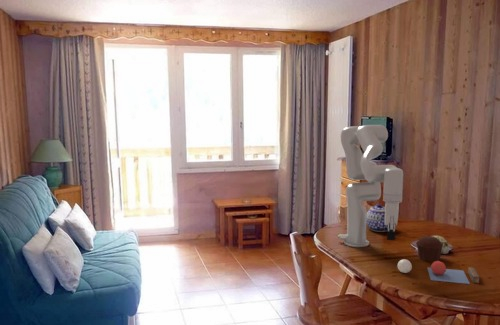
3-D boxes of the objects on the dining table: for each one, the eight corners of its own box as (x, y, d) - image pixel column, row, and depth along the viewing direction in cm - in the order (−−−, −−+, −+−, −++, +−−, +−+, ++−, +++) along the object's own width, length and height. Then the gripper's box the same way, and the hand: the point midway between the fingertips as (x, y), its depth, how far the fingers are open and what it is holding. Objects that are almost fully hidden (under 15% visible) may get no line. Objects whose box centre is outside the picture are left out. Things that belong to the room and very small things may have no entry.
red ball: (443, 261, 167) (449, 274, 167) (440, 257, 173) (447, 269, 173) (429, 266, 169) (436, 279, 169) (427, 262, 174) (433, 274, 174)
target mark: (430, 280, 165) (430, 279, 165) (427, 267, 179) (427, 267, 179) (469, 284, 161) (470, 283, 161) (463, 270, 174) (463, 270, 174)
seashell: (454, 252, 195) (444, 234, 194) (434, 261, 197) (424, 243, 196) (447, 244, 205) (438, 227, 204) (428, 252, 207) (419, 235, 206)
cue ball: (407, 262, 169) (413, 273, 170) (408, 255, 174) (414, 266, 175) (394, 265, 172) (400, 277, 173) (395, 258, 177) (401, 269, 178)
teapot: (362, 223, 251) (362, 199, 249) (388, 223, 249) (389, 199, 247) (368, 235, 226) (369, 208, 224) (398, 236, 224) (398, 209, 222)
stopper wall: (473, 282, 163) (473, 276, 162) (468, 273, 172) (468, 267, 172) (478, 283, 162) (479, 276, 162) (473, 273, 171) (473, 267, 171)
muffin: (441, 264, 182) (441, 242, 181) (414, 260, 188) (414, 238, 187) (443, 256, 193) (444, 235, 192) (417, 252, 198) (418, 232, 197)
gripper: (383, 193, 181) (381, 233, 184) (383, 201, 167) (381, 244, 170) (401, 194, 179) (399, 234, 182) (402, 202, 165) (400, 246, 167)
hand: (390, 239), depth 176 cm, fingers closed
